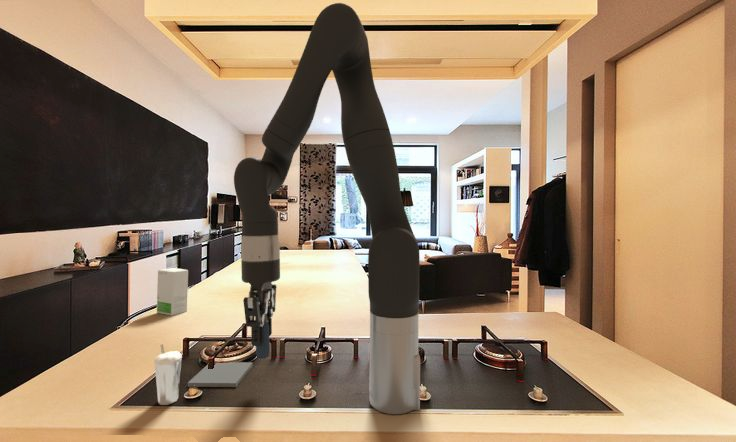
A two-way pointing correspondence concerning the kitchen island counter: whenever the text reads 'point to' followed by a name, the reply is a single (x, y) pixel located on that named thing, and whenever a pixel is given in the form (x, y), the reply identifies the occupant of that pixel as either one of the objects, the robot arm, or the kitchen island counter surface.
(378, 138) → the robot arm
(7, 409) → the kitchen island counter surface
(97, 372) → the kitchen island counter surface
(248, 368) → the charcoal mat
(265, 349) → the vaping device
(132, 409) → the kitchen island counter surface
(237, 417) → the kitchen island counter surface
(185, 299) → the skincare box
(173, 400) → the milkshake
